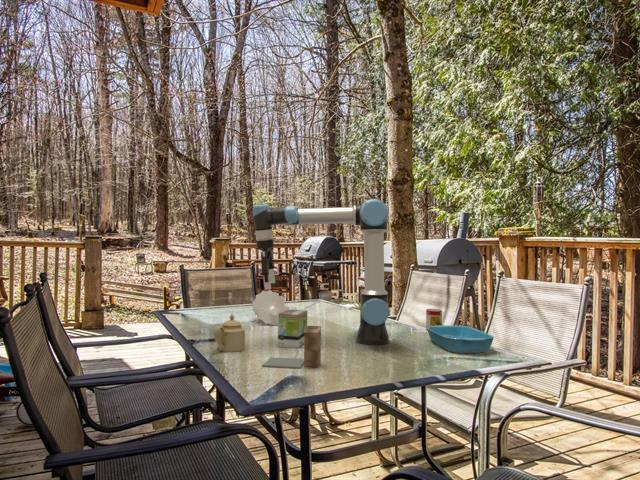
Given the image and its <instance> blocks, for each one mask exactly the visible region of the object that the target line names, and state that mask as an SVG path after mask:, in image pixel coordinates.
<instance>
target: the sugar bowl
mask: <svg viewBox="0 0 640 480" xmlns="http://www.w3.org/2000/svg"><path fill="white" fill-rule="evenodd" d="M221 325H222V326H221ZM221 325H219V326H217V327H215V329H214V333H213V336H214V340H215V342H216V344H217V346H218V347H217V348H218V351H220V352H224V353H225V352H226V353H236V352H241V351H244V350H245V347H246V346H245V343H246V341H245V340H246V329H245V328H244V327H243V326H242V325H243V323H242V322H240V321H239V320H235V315H234V313H231V314H230V315H229V320H225V321H224V322H223V323H221Z"/></svg>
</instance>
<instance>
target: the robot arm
mask: <svg viewBox="0 0 640 480" xmlns="http://www.w3.org/2000/svg"><path fill="white" fill-rule="evenodd" d="M388 209H389V208H388V206H387V205H386V203H385V202H384V201H382V200H380V199H378V198H371V199H367V200H366V201H365V202H363V203H361V204H353V206H341V207H313V208H311V207H308V208H297V206H296V205H286V206H281V207H280V206H278V207H270V205H269V203H268V204H267V203H264V204H257V205H256V204H255V205H253V207H252V218H253V225H254V233H253V235H254V236H255V239H256V243H255V244H256V249H258V250H261V251H260V260H261V261H260V262H261V273H260V275H261V276H262V278H263V286H264V291H267V290H271V289H272V284H276V277H275V269H276V266H275V264H274V259H273V254H272V248H274V247H275V244H274V239H273V237H274V236H273V234H274V233H273V228H272V227H273V226H274V225H275V226H276V225H284V226H293V225H296V226H297V225H330V224H331V225H332V224H333V225H335V224H339V225H340V224H353V225H354V226H360V229H359V230H360V232H361V233H362V234H363V251H364V252H363V257H364V258H363V264H364V265H363V266H364V267H363V269H364V276H363V277H364V289H363V290H362V292H361V293H360V297H359V300H360V303H359V305H360V307H359V311H360V312H359V313H360V316H359V318H360V319H359V322H360V323H359V327H358V330H357V333H356V336H355V338H356V339H355V342H357V344H358V343H359V344H361V345H371V346H372V345H374V346H378V345H379V346H380V345H387V344H388V343H390V337H389V333H388V330H387V326H386V322H387V320H388V318H389V316H390V307H389V292H388V291H387V290H386V289H385V239H384V236H385V235H384V234H385V233H386V232H387V231H388V216H389V210H388Z"/></svg>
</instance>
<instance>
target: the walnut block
mask: <svg viewBox="0 0 640 480" xmlns="http://www.w3.org/2000/svg"><path fill="white" fill-rule="evenodd" d="M321 340H322V326H321V325H307V327H306V328H305V329H304V344H303V345H304V346H303V349H304V350H303V351H304V352H303V359H304V364H303V367H304V368H309V369H310V368H311V369H318V368H319V366H320V365H321V364H322V363H321V362H322V361H321V357H322V355H321V354H322V353H321V352H322V351H321V349H322V347H321V345H322V341H321Z"/></svg>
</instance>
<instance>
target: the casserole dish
mask: <svg viewBox="0 0 640 480" xmlns="http://www.w3.org/2000/svg"><path fill="white" fill-rule="evenodd" d="M427 330H428V333H429V334H428V336H429V338H430V340H431V342H433V343H434V344H435V345H438V346H439V347H440V348H442V347H443V349H444V348H445V349H444V350H446V351H448V350H449V352H450V351H451V352H450V353H454V352H455V353H454V354H480V353H481V352H484V353H487V351H490V349H491V348H492V347H491V346H492V344H493V340H494V336H493V335H492V334H489V333H487V332H485V331H482V330H479V329H477V328H474V327H471V326H467V325H466V326H465V325H455V324H454V325H451V324H449V325H448V324H445V325H444V324H442V325H439V326H429V327H427ZM455 338H456V339H455Z"/></svg>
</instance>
